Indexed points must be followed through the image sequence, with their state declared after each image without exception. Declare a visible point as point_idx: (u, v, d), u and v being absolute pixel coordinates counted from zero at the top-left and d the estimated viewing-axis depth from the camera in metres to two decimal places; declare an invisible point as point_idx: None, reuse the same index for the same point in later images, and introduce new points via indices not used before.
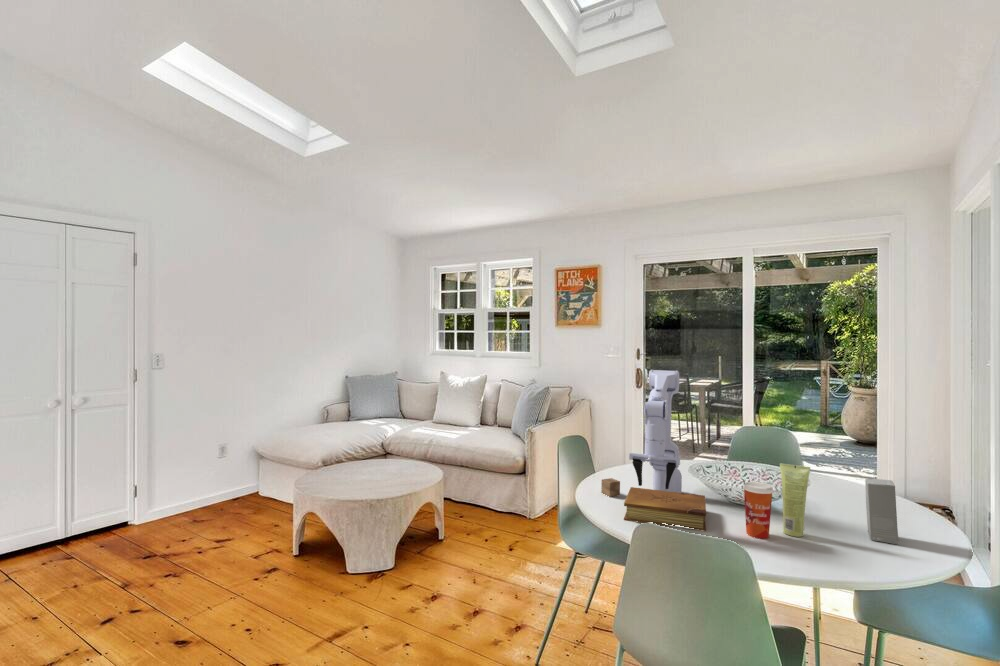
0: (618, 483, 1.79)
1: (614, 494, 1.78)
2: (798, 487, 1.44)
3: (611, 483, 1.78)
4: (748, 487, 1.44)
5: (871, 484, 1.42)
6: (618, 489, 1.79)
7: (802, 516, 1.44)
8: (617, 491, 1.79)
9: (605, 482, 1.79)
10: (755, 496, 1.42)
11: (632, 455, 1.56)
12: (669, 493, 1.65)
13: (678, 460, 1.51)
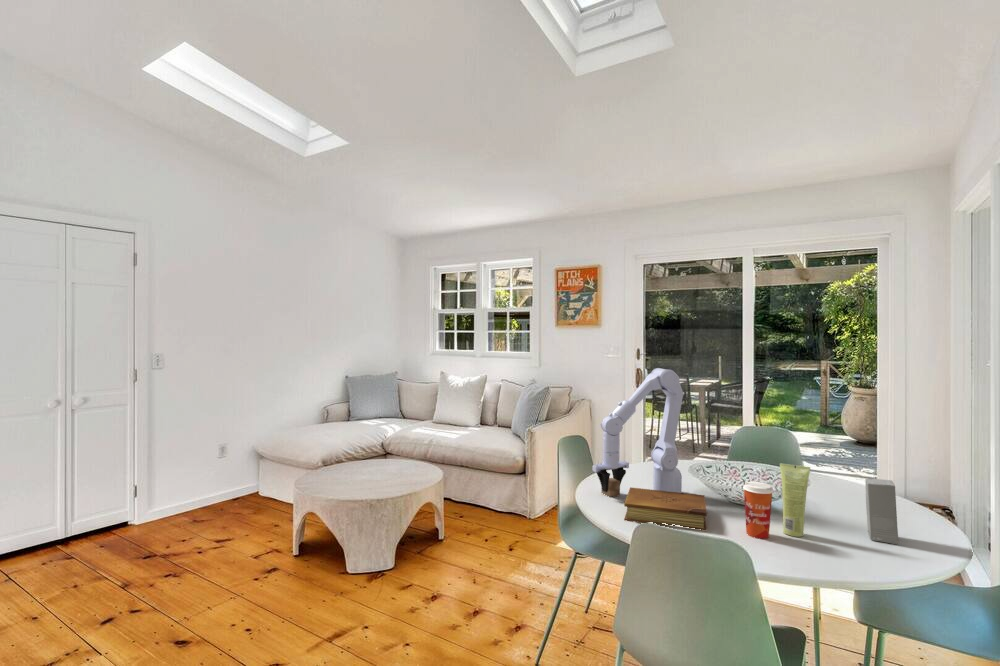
0: (618, 483, 1.79)
1: (614, 494, 1.78)
2: (798, 487, 1.44)
3: (611, 483, 1.78)
4: (748, 487, 1.44)
5: (871, 484, 1.42)
6: (618, 489, 1.79)
7: (802, 516, 1.44)
8: (617, 491, 1.79)
9: None
10: (755, 496, 1.42)
11: None
12: (669, 493, 1.65)
13: None
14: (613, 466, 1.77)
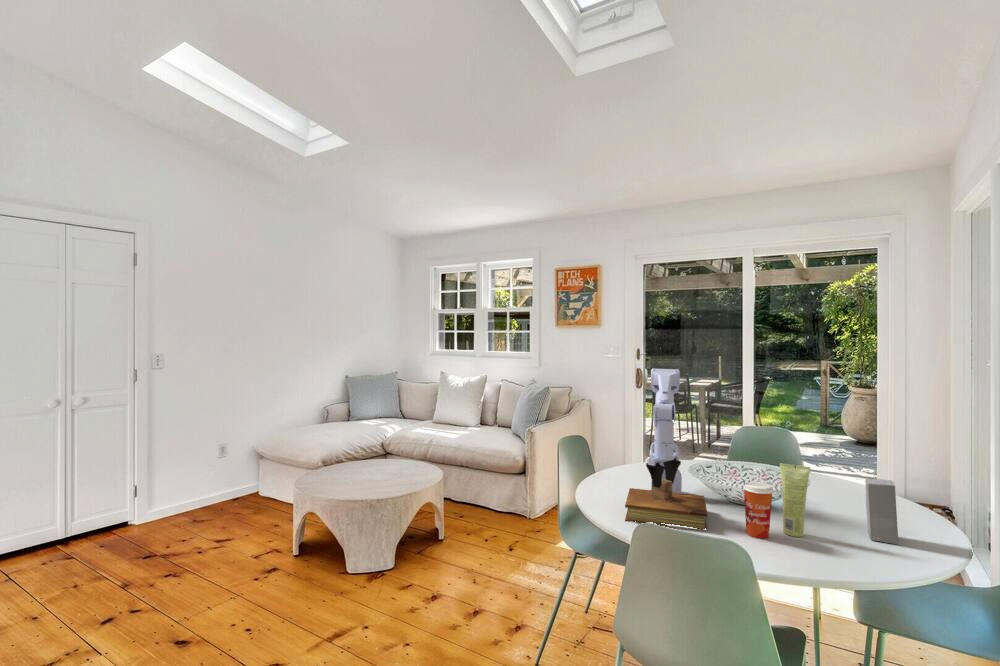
0: (670, 483, 1.62)
1: (667, 496, 1.60)
2: (798, 487, 1.44)
3: (665, 484, 1.60)
4: (748, 487, 1.44)
5: (871, 484, 1.42)
6: (670, 490, 1.62)
7: (802, 516, 1.44)
8: (670, 492, 1.61)
9: None
10: (755, 496, 1.42)
11: None
12: None
13: None
14: (669, 458, 1.59)
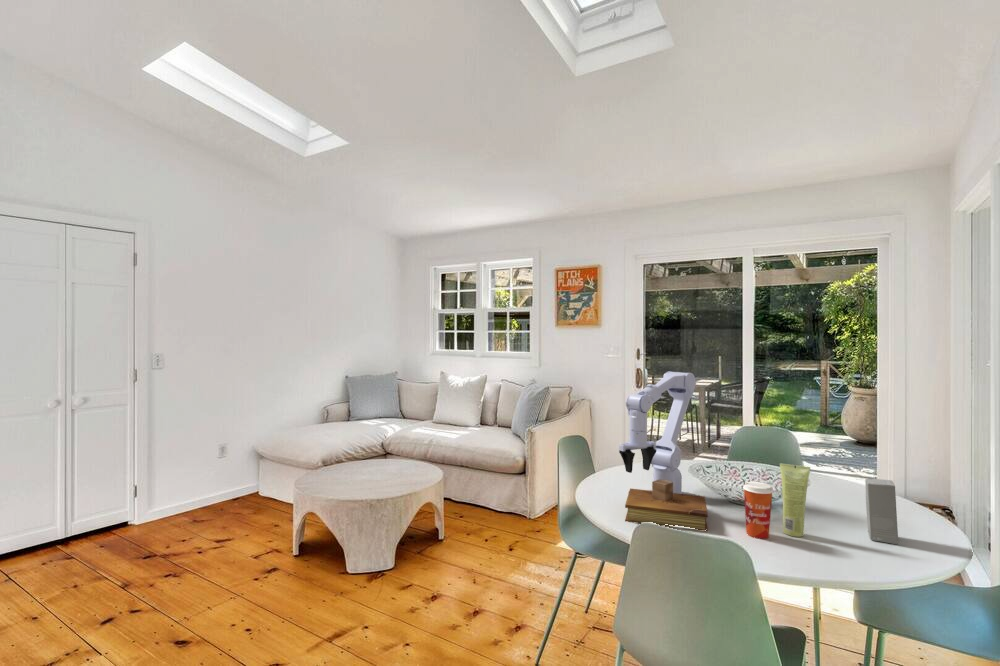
0: (671, 484, 1.60)
1: (668, 497, 1.59)
2: (798, 487, 1.44)
3: (666, 485, 1.59)
4: (748, 487, 1.44)
5: (871, 484, 1.42)
6: (671, 491, 1.60)
7: (802, 516, 1.44)
8: (671, 493, 1.60)
9: (658, 484, 1.60)
10: (755, 496, 1.42)
11: None
12: None
13: None
14: (641, 445, 1.70)
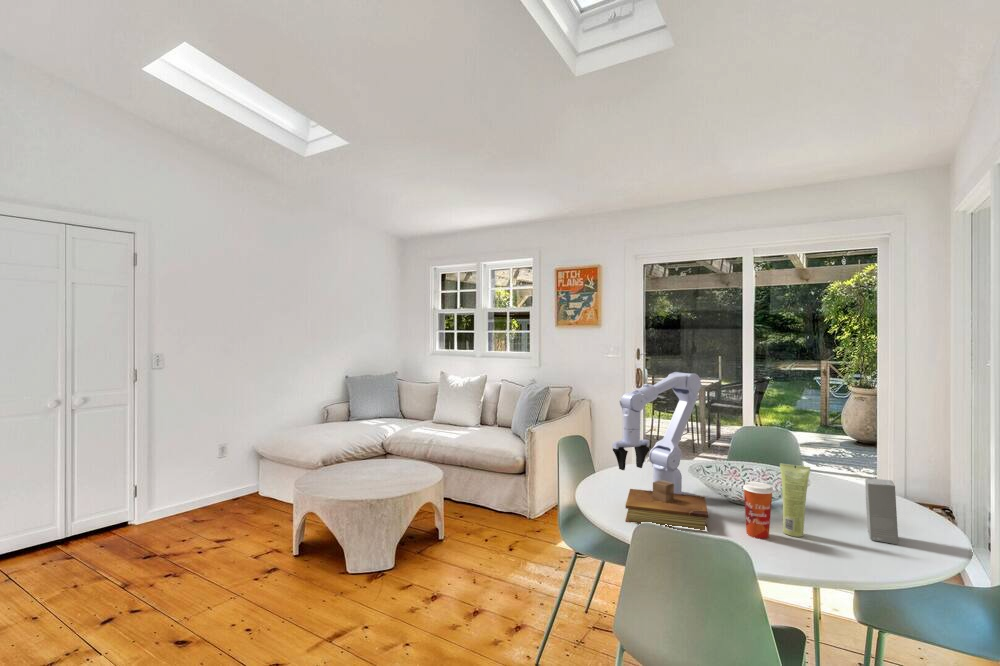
0: (672, 485, 1.60)
1: (669, 498, 1.58)
2: (798, 487, 1.44)
3: (667, 486, 1.58)
4: (748, 487, 1.44)
5: (871, 484, 1.42)
6: (672, 492, 1.60)
7: (802, 516, 1.44)
8: (671, 495, 1.59)
9: (659, 485, 1.59)
10: (755, 496, 1.42)
11: None
12: None
13: None
14: (634, 443, 1.73)
